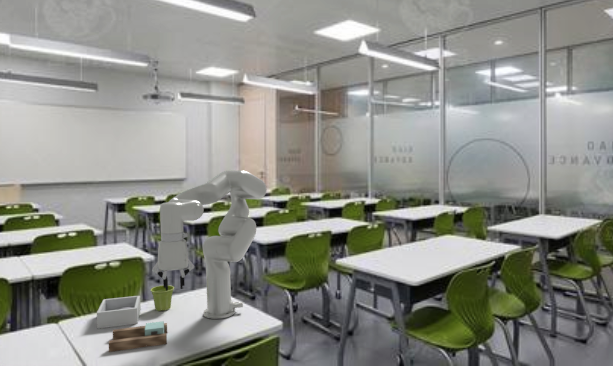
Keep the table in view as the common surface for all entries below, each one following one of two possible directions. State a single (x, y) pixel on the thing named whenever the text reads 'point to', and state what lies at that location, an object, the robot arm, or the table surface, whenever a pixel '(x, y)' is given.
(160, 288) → the plant pot
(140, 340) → the wooden rail pair
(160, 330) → the block
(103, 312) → the holder
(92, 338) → the table surface
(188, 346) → the table surface
